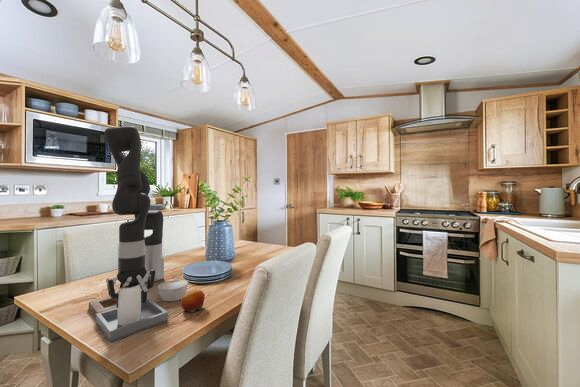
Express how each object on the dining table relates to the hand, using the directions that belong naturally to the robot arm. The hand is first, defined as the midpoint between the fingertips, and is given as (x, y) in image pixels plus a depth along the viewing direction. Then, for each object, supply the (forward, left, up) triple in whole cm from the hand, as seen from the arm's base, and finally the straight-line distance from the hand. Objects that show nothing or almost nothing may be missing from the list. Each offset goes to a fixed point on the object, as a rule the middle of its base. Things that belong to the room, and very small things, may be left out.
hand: (132, 305), depth 84 cm
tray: (0, 0, -5) cm, 5 cm away
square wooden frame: (+1, -16, -5) cm, 17 cm away
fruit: (-18, +6, -6) cm, 20 cm away
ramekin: (-18, -10, -6) cm, 21 cm away
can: (+1, 0, -5) cm, 5 cm away
